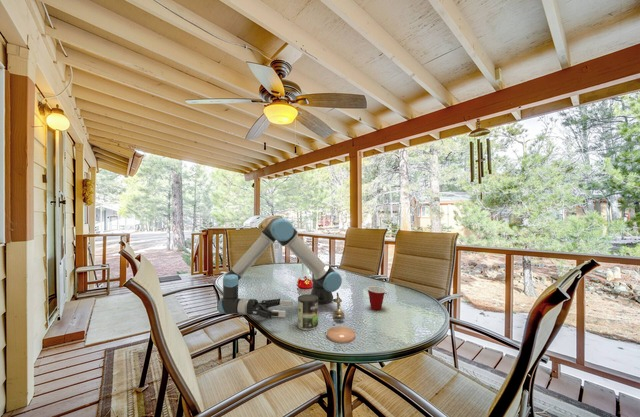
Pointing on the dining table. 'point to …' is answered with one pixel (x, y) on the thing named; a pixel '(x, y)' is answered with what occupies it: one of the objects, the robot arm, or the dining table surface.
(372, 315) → the dining table surface
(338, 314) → the balance
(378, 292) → the plastic cup
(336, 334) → the dish
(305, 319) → the coffee can
